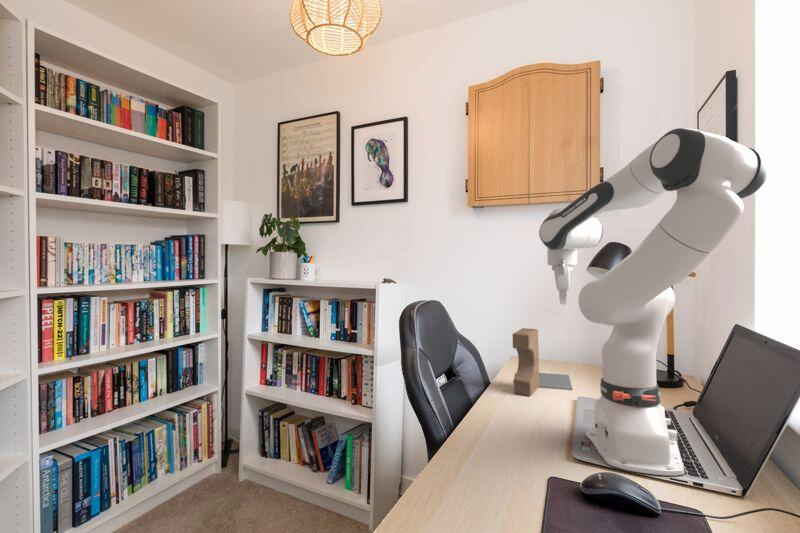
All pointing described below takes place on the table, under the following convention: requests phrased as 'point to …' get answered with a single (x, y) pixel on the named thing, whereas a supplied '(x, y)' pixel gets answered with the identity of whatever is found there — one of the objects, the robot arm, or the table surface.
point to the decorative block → (526, 361)
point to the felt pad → (554, 381)
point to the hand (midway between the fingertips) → (562, 302)
